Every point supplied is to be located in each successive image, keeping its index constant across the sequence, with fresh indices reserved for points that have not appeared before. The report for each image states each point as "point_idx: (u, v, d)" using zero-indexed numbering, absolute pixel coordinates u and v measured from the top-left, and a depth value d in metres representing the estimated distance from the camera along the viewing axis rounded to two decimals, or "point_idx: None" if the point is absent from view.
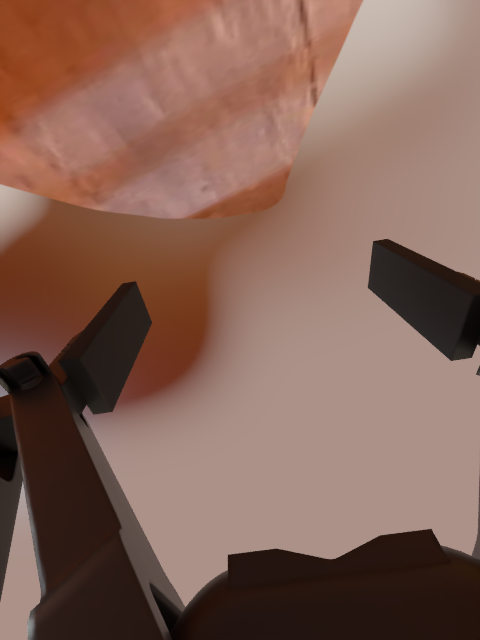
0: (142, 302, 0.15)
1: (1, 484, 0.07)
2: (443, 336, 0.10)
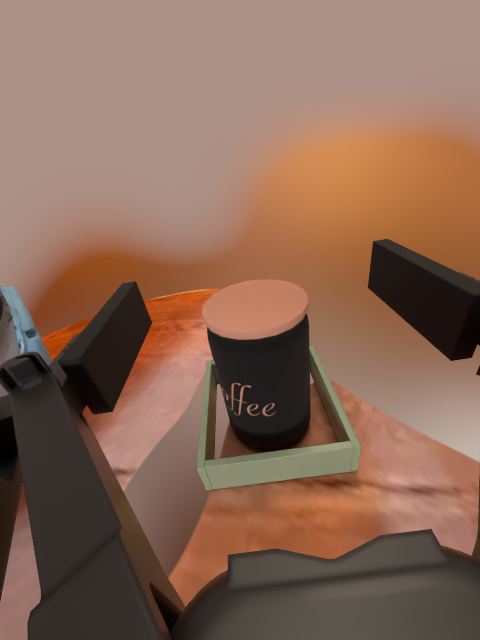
0: (142, 302, 0.15)
1: (1, 484, 0.07)
2: (443, 336, 0.10)
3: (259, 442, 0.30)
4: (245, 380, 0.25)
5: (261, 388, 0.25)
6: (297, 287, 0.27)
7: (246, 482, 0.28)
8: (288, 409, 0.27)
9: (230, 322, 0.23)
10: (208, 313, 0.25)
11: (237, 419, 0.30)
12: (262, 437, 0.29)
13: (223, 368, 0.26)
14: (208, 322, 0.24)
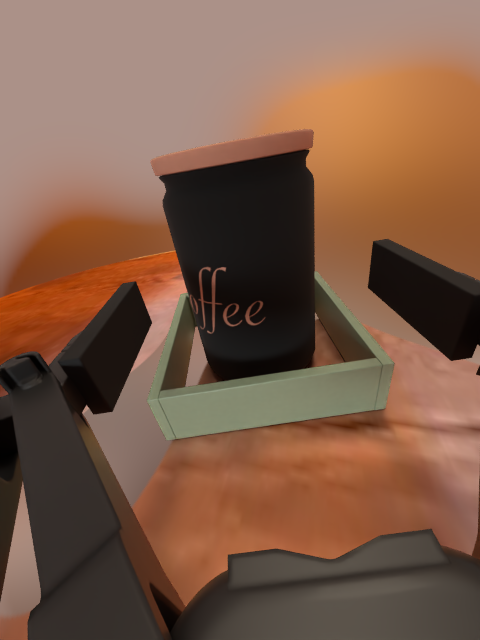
0: (142, 302, 0.15)
1: (1, 484, 0.07)
2: (443, 336, 0.10)
3: (243, 374, 0.21)
4: (217, 258, 0.16)
5: (242, 271, 0.16)
6: None
7: (223, 427, 0.19)
8: (284, 316, 0.19)
9: None
10: None
11: (212, 341, 0.21)
12: (248, 365, 0.21)
13: (185, 247, 0.17)
14: (156, 158, 0.15)
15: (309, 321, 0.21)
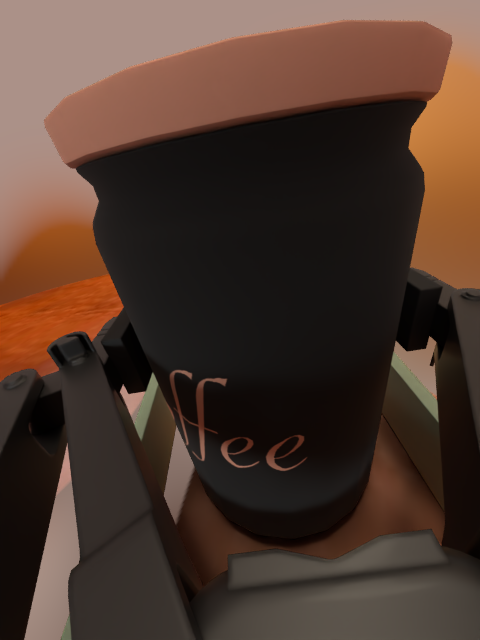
0: None
1: (46, 457, 0.08)
2: (400, 329, 0.11)
3: (257, 524, 0.12)
4: (205, 361, 0.07)
5: (263, 387, 0.07)
6: None
7: None
8: (343, 449, 0.09)
9: None
10: None
11: (201, 467, 0.12)
12: (267, 516, 0.11)
13: (138, 323, 0.08)
14: None
15: (377, 433, 0.12)
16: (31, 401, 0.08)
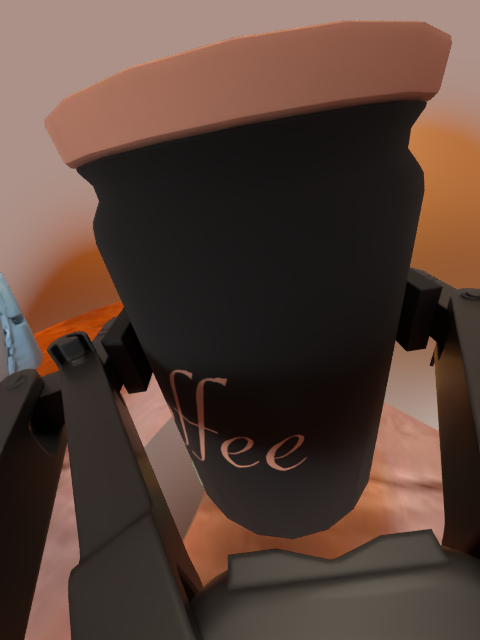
0: None
1: (46, 457, 0.08)
2: (400, 329, 0.11)
3: (257, 524, 0.12)
4: (205, 360, 0.07)
5: (263, 387, 0.07)
6: None
7: None
8: (342, 449, 0.09)
9: None
10: None
11: (202, 467, 0.12)
12: (267, 516, 0.11)
13: (138, 323, 0.08)
14: None
15: (377, 433, 0.12)
16: (31, 401, 0.08)
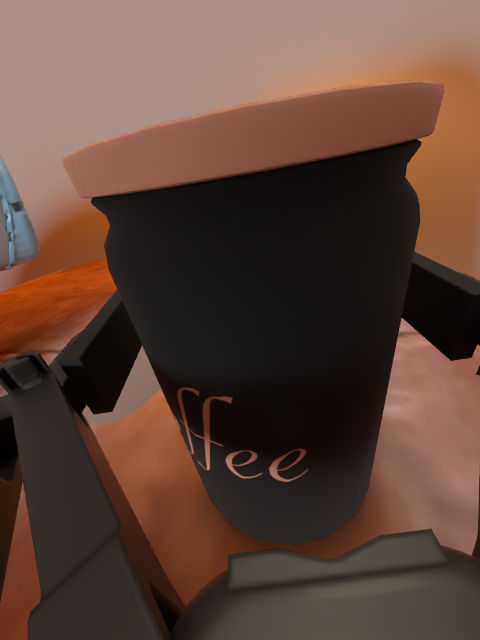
0: None
1: (1, 484, 0.07)
2: (443, 336, 0.10)
3: (260, 531, 0.12)
4: (212, 380, 0.07)
5: (267, 406, 0.07)
6: None
7: None
8: (343, 461, 0.10)
9: None
10: None
11: (206, 476, 0.12)
12: (269, 523, 0.12)
13: (147, 342, 0.08)
14: None
15: (376, 443, 0.12)
16: None
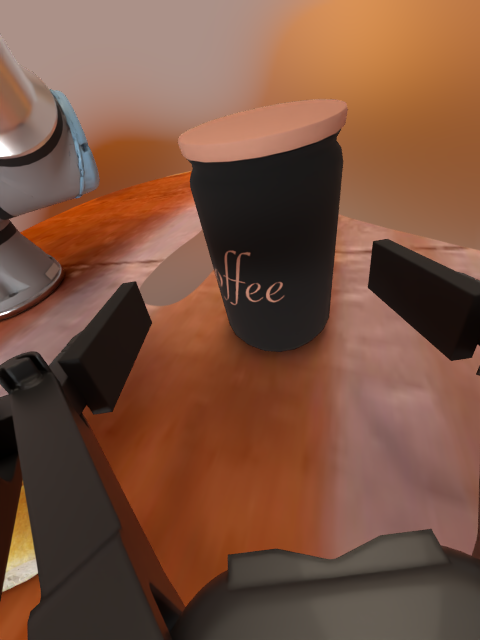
0: (142, 302, 0.15)
1: (1, 484, 0.07)
2: (443, 336, 0.10)
3: (261, 340, 0.24)
4: (242, 244, 0.17)
5: (265, 256, 0.18)
6: (330, 100, 0.17)
7: None
8: (302, 294, 0.20)
9: (217, 137, 0.14)
10: (187, 137, 0.16)
11: (234, 310, 0.23)
12: (266, 333, 0.23)
13: (212, 230, 0.18)
14: (184, 143, 0.15)
15: (325, 296, 0.22)
16: None
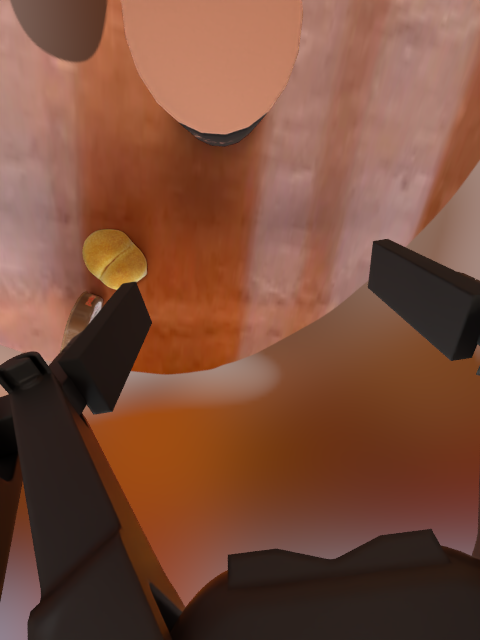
0: (142, 302, 0.15)
1: (1, 484, 0.07)
2: (443, 336, 0.10)
3: None
4: (205, 138, 0.23)
5: (222, 140, 0.24)
6: None
7: None
8: (245, 134, 0.27)
9: (188, 105, 0.17)
10: (145, 64, 0.16)
11: None
12: None
13: None
14: (155, 97, 0.17)
15: None
16: None
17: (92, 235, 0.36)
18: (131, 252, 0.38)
